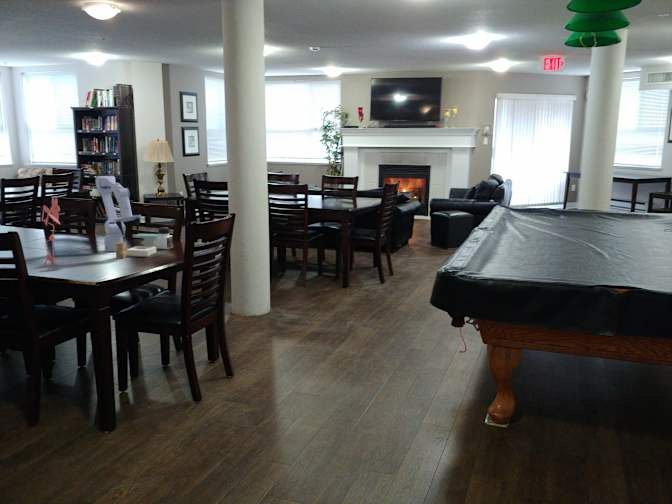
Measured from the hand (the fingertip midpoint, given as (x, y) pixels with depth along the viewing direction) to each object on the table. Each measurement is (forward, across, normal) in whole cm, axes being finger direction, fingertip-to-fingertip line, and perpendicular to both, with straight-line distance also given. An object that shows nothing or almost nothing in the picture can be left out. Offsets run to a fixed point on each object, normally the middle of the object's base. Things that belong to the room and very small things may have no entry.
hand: (130, 233), depth 317 cm
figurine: (+13, -35, -13) cm, 40 cm away
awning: (+8, +7, +18) cm, 21 cm away
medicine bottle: (+7, +16, +27) cm, 32 cm away
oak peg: (+12, -7, +3) cm, 14 cm away
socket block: (+11, +3, +9) cm, 15 cm away
